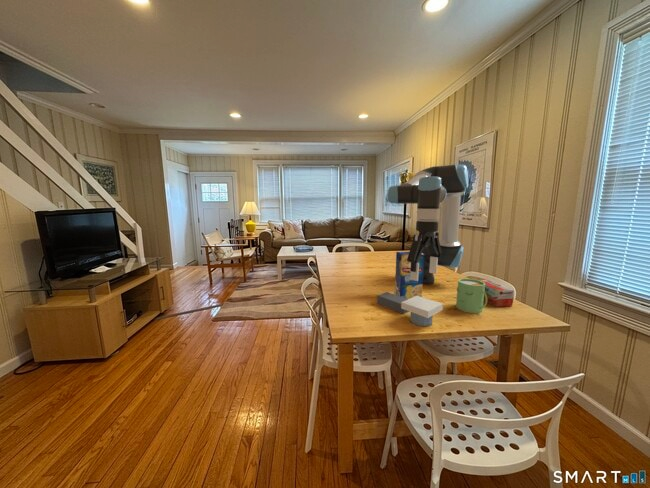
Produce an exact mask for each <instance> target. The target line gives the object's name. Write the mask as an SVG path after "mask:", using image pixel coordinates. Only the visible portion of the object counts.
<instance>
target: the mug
mask: <svg viewBox="0 0 650 488" xmlns="http://www.w3.org/2000/svg"><path fill="white" fill-rule="evenodd" d="M479 280H480V279H474V278H459V279H458V280H457V289H456V302H455V307H456V309H458V310H459V311H462V312H465V313H470V314H481V313H482V312H483V309H484V308H485V307H486V306H487V304H488V303H487V296H486V293H485V292H484V291H485V283H484V282H482V281H479ZM484 295H485V299H486V301H484Z"/></svg>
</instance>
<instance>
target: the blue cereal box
mask: <svg viewBox="0 0 650 488" xmlns="http://www.w3.org/2000/svg"><path fill="white" fill-rule="evenodd" d="M409 252H410V251H396V253H395V255H396V257H395V275H394V276H395V277H394V279H395V280H394V295H398V296H401V297H404V298H407V299H410V298H413V297H415V296H420V297H422V296H423V285H424V284H423V268H424V254H423V253H422V254H421V256H420V258H419V260H418V262H417V263H419V273H418V281H415V280H411V279H410V273H411V262H408V261H407V258H408V255H409ZM415 260H416V259H415Z"/></svg>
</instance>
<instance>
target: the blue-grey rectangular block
mask: <svg viewBox="0 0 650 488" xmlns="http://www.w3.org/2000/svg"><path fill="white" fill-rule="evenodd" d="M376 299H377V300H376V301H377V302H376V304H377V305H379V306H382V307H385V308H387V309H389V310H392V311H395V312H397V313H400V314H403V315H405V314H407V313H409V312H410V311H407V310H404V309H402V308H401V302H403V301H406V300H408V299H407V298H404V297H401V296H398V295H395V293H391V292H388V291H387V292H383V293H380V294H378V295H377V298H376Z"/></svg>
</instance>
